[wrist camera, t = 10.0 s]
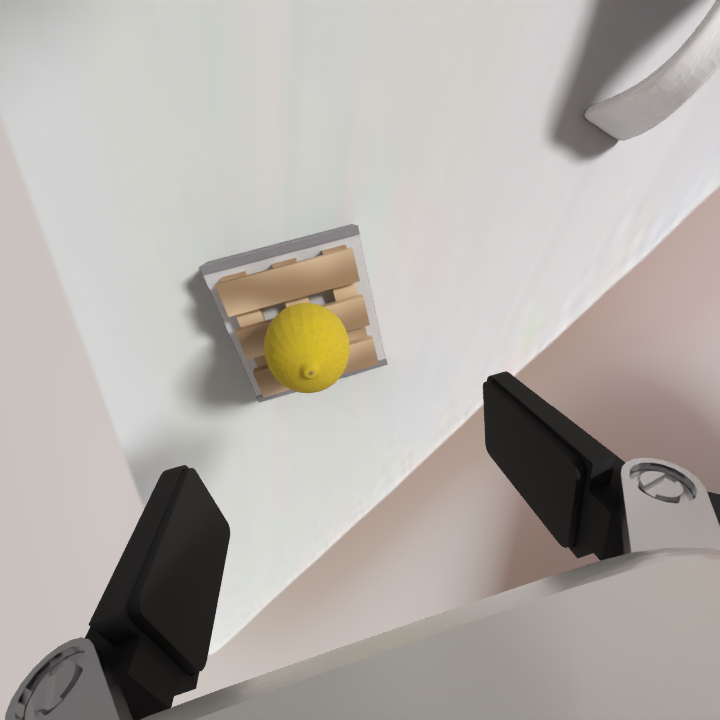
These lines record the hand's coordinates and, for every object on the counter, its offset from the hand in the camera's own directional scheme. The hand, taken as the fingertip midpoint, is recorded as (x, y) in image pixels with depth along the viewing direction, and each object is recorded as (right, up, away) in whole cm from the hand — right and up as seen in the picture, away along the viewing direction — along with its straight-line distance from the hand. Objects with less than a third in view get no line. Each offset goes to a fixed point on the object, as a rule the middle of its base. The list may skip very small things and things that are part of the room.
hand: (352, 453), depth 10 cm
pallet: (-4, +6, +16) cm, 18 cm away
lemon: (-4, +6, +15) cm, 16 cm away
